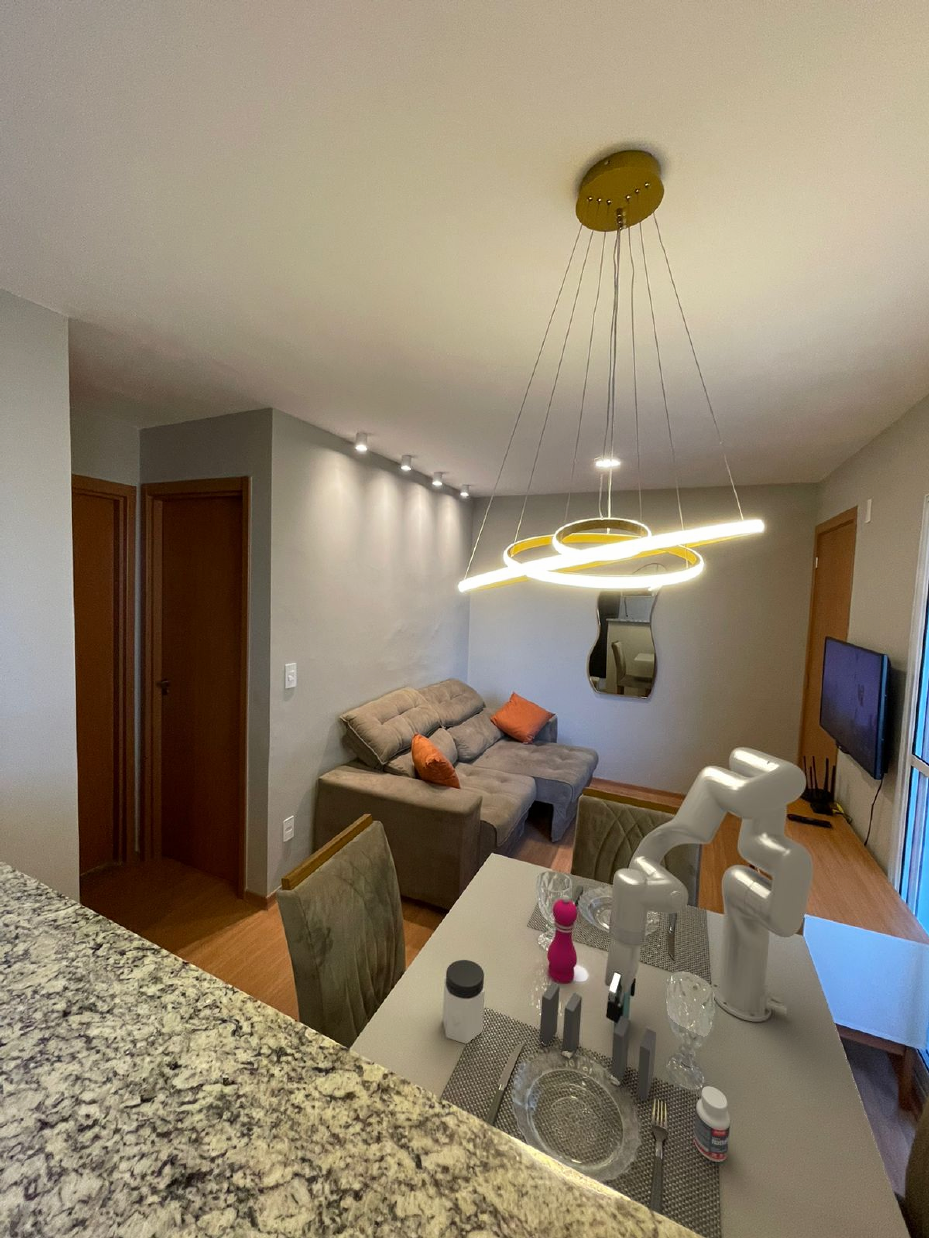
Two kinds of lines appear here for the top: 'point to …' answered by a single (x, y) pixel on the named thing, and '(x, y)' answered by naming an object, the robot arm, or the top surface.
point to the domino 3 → (624, 1004)
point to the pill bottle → (712, 1125)
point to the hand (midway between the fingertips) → (620, 1006)
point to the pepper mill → (563, 942)
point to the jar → (463, 1001)
